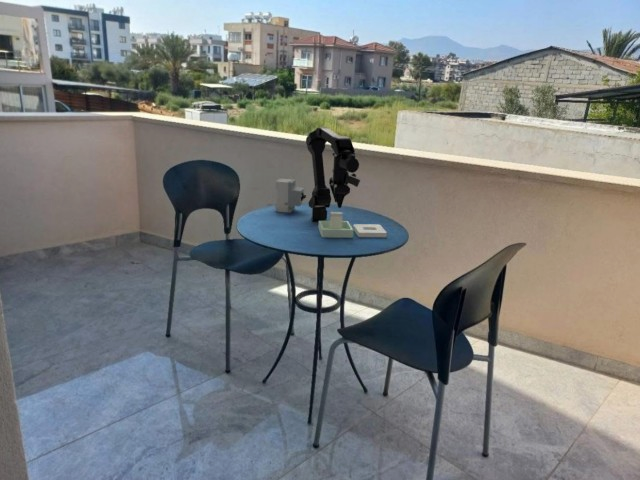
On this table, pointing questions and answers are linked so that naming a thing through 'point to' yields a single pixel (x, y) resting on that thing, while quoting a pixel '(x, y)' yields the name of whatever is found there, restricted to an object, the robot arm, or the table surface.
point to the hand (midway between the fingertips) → (337, 204)
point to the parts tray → (336, 230)
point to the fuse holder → (369, 230)
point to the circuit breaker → (288, 195)
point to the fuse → (335, 220)
